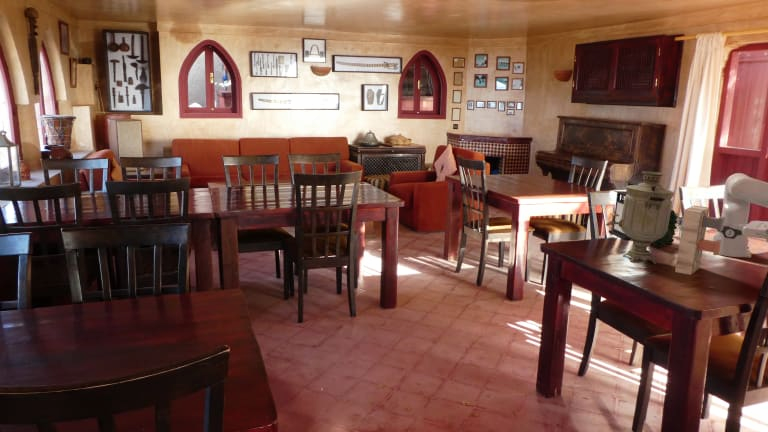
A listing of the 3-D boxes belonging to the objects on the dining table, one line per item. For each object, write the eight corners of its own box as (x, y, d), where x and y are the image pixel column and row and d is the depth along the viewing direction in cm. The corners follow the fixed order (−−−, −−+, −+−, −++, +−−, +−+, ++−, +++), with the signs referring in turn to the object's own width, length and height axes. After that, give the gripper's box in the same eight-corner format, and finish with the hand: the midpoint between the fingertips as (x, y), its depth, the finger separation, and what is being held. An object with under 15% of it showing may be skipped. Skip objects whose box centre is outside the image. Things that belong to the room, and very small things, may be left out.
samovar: (605, 247, 277) (615, 166, 269) (664, 255, 266) (676, 171, 258) (599, 261, 251) (610, 172, 243) (664, 271, 240) (678, 178, 232)
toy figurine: (659, 243, 298) (642, 246, 280) (665, 208, 295) (649, 209, 277) (678, 247, 291) (662, 250, 273) (685, 211, 289) (669, 212, 271)
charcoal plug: (698, 226, 241) (700, 213, 240) (723, 229, 235) (725, 216, 234) (695, 227, 237) (697, 214, 236) (720, 231, 231) (722, 218, 230)
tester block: (684, 264, 252) (694, 205, 246) (699, 267, 248) (709, 207, 242) (675, 271, 240) (684, 209, 234) (690, 275, 236) (700, 211, 230)
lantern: (638, 233, 313) (646, 170, 306) (655, 240, 297) (664, 174, 290) (608, 232, 312) (616, 169, 305) (623, 239, 295) (632, 173, 288)
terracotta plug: (695, 248, 243) (697, 236, 242) (719, 252, 237) (721, 240, 236) (691, 250, 239) (693, 238, 238) (716, 255, 233) (718, 242, 232)
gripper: (768, 244, 214) (726, 237, 223) (775, 236, 229) (736, 229, 238) (771, 227, 213) (729, 221, 222) (778, 220, 228) (739, 215, 237)
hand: (733, 225), depth 230 cm, fingers closed
